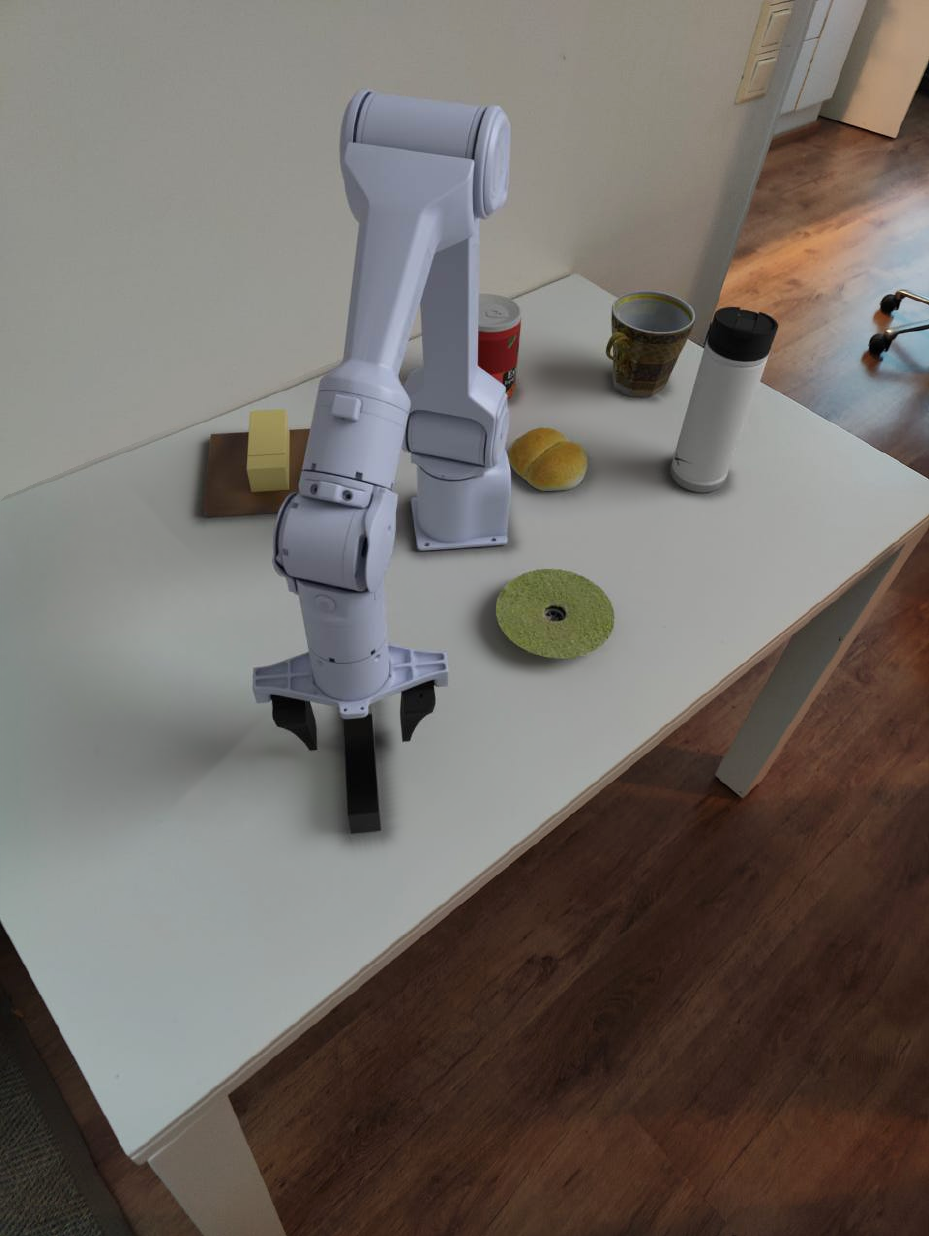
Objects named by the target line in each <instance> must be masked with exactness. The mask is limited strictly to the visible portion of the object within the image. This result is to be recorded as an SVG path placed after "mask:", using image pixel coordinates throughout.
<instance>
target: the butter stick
mask: <svg viewBox="0 0 929 1236" xmlns="http://www.w3.org/2000/svg"><path fill="white" fill-rule="evenodd" d="M287 413H288V412H287V409H286V408H279V409H278V408H277V409H262V410H249V420H248V421H249V422H248V432H249V437H248V453H247V456H260V455H278V454H285V455H286V461H287V467H288V473H289V435H290V432H289V430H290V426H289V420H288V419H289V418H288V414H287Z"/></svg>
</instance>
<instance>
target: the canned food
mask: <svg viewBox="0 0 929 1236" xmlns="http://www.w3.org/2000/svg"><path fill="white" fill-rule="evenodd" d="M521 329H522V309H521V307H520V305H519V304H518V303H517V302H515V301H514V300H513V299H511V298H509V297H505V296H502V295H499V294H492V293H479V304H478V366H479V367H480V368H481V369H483V370H484V371H485V372H487V373H488V374H489V375H491V376H492V377H494V378H495V379H496V380H498V381H499V382H500V383H502V384H503V385H504V386H505V387H506V394H507V401H509V400H510V399H511V397H512V396H513V394H514V391H515V388H516V379H517V369H518V359H519V351H520V350H519V349H520V340H521V339H520V338H521Z"/></svg>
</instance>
